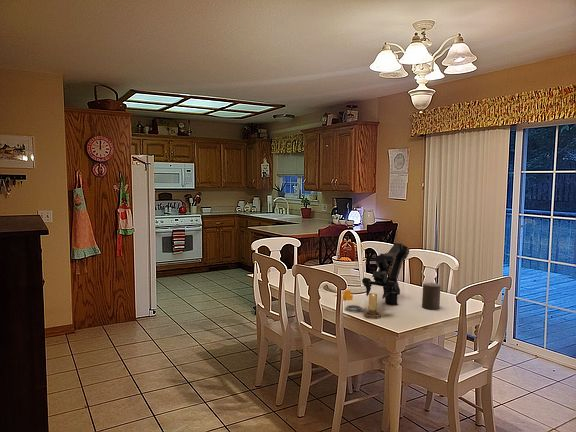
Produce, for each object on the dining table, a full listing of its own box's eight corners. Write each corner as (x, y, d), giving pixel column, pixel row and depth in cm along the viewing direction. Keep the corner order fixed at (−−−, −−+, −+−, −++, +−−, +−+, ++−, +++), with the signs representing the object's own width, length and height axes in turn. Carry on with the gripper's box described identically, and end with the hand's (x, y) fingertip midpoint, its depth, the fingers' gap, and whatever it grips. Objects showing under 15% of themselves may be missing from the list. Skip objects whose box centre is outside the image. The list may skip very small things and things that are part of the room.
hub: (362, 307, 248) (362, 305, 248) (363, 312, 239) (363, 310, 239) (345, 306, 250) (345, 304, 250) (344, 311, 240) (344, 309, 240)
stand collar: (380, 314, 237) (380, 311, 236) (381, 319, 228) (381, 316, 228) (364, 313, 238) (364, 310, 238) (364, 318, 229) (364, 315, 229)
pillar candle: (428, 310, 244) (429, 284, 243) (418, 305, 254) (419, 280, 252) (443, 309, 247) (444, 283, 246) (433, 304, 256) (434, 279, 255)
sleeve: (376, 315, 235) (377, 293, 234) (376, 317, 230) (377, 295, 229) (368, 314, 235) (368, 293, 235) (368, 317, 231) (368, 295, 230)
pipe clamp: (352, 300, 265) (352, 289, 264) (346, 301, 263) (346, 290, 263) (342, 295, 276) (342, 285, 275) (336, 296, 274) (336, 286, 274)
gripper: (363, 263, 243) (354, 286, 234) (395, 267, 233) (388, 291, 224) (368, 274, 250) (360, 297, 241) (400, 279, 240) (392, 302, 231)
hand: (374, 297), depth 234 cm, fingers open, 9 cm apart
